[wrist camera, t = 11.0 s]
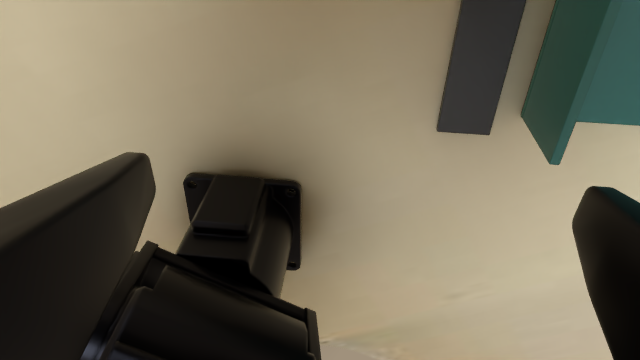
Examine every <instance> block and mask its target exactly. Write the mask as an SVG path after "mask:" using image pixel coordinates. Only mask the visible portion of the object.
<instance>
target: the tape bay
mask: <svg viewBox="0 0 640 360" xmlns="http://www.w3.org/2000/svg"><path fill="white" fill-rule="evenodd" d="M525 3H526V0H462V1H461V7H460V12H459V17H458V22H457V27H456V32H455V37H454V42H453V47H452V53H451V58H450V63H449V68H448V73H447V78H446V83H445V88H444V93H443V98H442V104H441V109H440V114H439V119H438V124H437V131H438V132H451V133H466V134H480V135H489V134H490V131H491V127H492V123H493V120H494V116H495V112H496V109H497V105H498V101H499V98H500V94H501V91H502V87H503V83H504V80H505V76H506V72H507V69H508V65H509V61H510V58H511V54H512V50H513V47H514V43H515V39H516V36H517V32H518V28H519V25H520V21H521V18H522V14H523V10H524V7H525Z"/></svg>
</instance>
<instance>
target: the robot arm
mask: <svg viewBox="0 0 640 360" xmlns="http://www.w3.org/2000/svg"><path fill="white" fill-rule="evenodd" d="M190 181H193V182H195V183H196V185H195V184H192V183H191V182H190ZM183 185H184V191H185V196H186V202H187V207H188V213H189V219H190V226H189V228H188V230H187V232H186V234H185V236H184V238H183V240H182V242H181V244H180V246H179V248H178V250H177V252H176V254H173V253H171V252H168V251H166V250H164V249H161V248H159V247H158V246H159V245H158V244H155V243H153V242H151V241H147V242H146V243H145V245H144V246H143V248H142V249H141V251H140V252H138V251H135V248H136V246H137V243H138V241H139V238H140V235H141V232H142V230H143V227H144V224H145V221H146V219H147V216H148V213H149V211H150V208H151V205H152V202H153V200H154V197H155V192H156V186H155V181H154V176H153V172H152V168H151V163H150V160H149V157H148V156H147V155H146V154H144V153H134V152H126V153H124V154H121V155H119V156H117V157H115V158H112V159H110V160H108V161H106V162H103V163H101V164H99V165H97V166H94V167H92V168H90V169H88V170H85V171H83V172H81V173H79V174H76V175H74V176H72V177H70V178H67V179H65V180H63V181H61V182H58V183H56V184H54V185H52V186H49V187H47V188H45V189H43V190H40V191H38V192H36V193H34V194H31V195H29V196H27V197H25V198H22V199H20V200H18V201H16V202H13V203H11V204H9V205H7V206H4V207H2V208H0V360H321V353H320V344H319V335H318V327H317V318H316V312H315V311H313V310H310V309H308V308H305V309H303V308H300V307H298V306H296V305H293V304H291V303H289V302H286V301H284V300H281V299H280V295H281V291H282V286H283V281H284V276H285V272H286V270H297V269H299V268H300V264H301V186H300V185H299V184H298V183H297V182H294V181H286V180H273V179H261V178H255V177H242V176H229V175H207V174H194V173H193V174H189V175H187V177H186V178H185V180H184V182H183ZM288 189H293V190H295V192H290V191H289V190H288ZM572 229H573V234H574V238H575V242H576V246H577V250H578V254H579V258H580V262H581V266H582V270H583V274H584V278H585V282H586V285H587V289H588V292H589V296H590V298H591V301H592V304H593V307H594V309H595V312H596V315H597V317H598V320H599V322H600V325H601V328H602V330H603V333H604V336H605V338H606V341H607V343H608V346H609V349H610V351H611V354H612V356H613V359H614V360H640V203H639V202H637V201H635V200H634V199H632V198H630V197H628V196H626V195H625V194H623V193H621V192H619V191H618V190H616V189H614V188H610V187H598V186H592V187H589V188H588V189H587V190H586V191H585V193H584V195H583V197H582V200H581V202H580V204H579V206H578V209H577V211H576V213H575V215H574V218H573V222H572ZM134 251H135V253H134ZM133 253H134V254H133ZM291 262H295V263H291Z"/></svg>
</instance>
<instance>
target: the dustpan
mask: <svg viewBox="0 0 640 360" xmlns="http://www.w3.org/2000/svg"><path fill="white" fill-rule="evenodd" d="M521 117H522V118H523V120H524V122H525V123H526V125H527V127H528V128H529V130H530V132H531V133H532V135H533V137H534V139H535V140H536V142H537V144H538V145H539V147H540V149H541V150H542V152H543V154H544V156H545V157H546V159H547V161H548V162H549V164H553V165H559V164H560V162H561V159H562V157H563V154H564V151H565V149H566V146H567V144H568V141H569V139H570V136H571V133H572V131H573V128H574V126H575V123H576V122H592V123H607V124H623V125H639V126H640V0H556V3H555V6H554V9H553V12H552V15H551V19H550V22H549V25H548V28H547V32H546V35H545V38H544V41H543V45H542V48H541V51H540V54H539V58H538V61H537V64H536V67H535V71H534V74H533V77H532V80H531V84H530V87H529V90H528V93H527V97H526V100H525V103H524V106H523V110H522V113H521Z"/></svg>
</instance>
